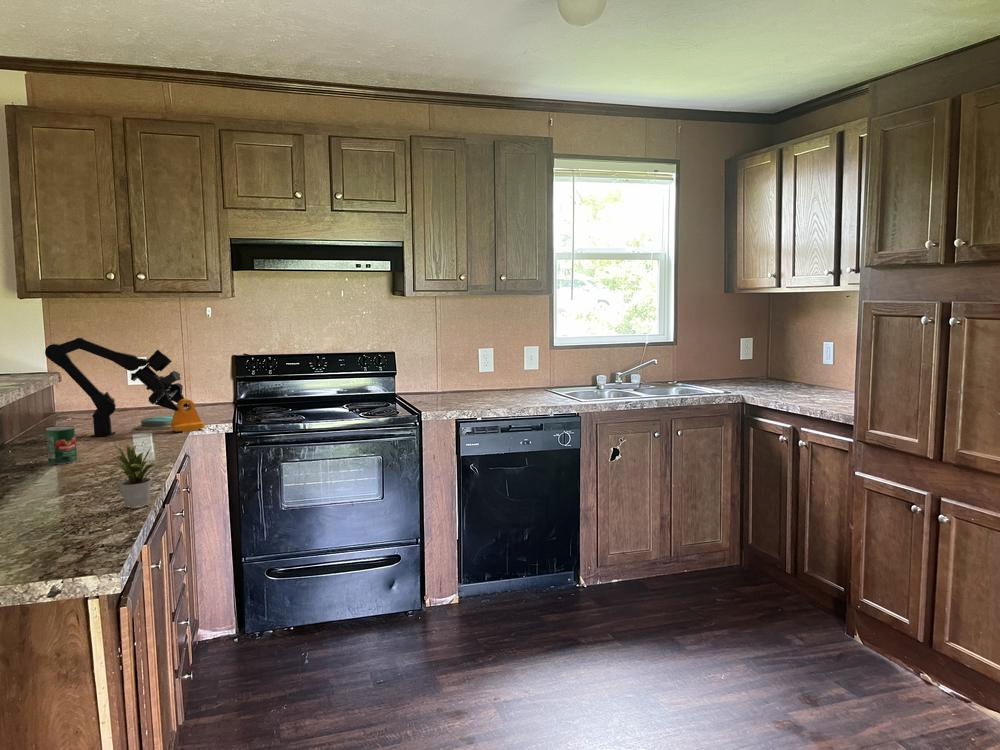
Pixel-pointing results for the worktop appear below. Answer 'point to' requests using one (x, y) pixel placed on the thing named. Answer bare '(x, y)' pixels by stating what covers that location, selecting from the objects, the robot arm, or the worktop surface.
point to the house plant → (134, 477)
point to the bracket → (186, 418)
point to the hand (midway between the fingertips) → (182, 408)
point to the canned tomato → (61, 444)
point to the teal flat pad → (156, 423)
